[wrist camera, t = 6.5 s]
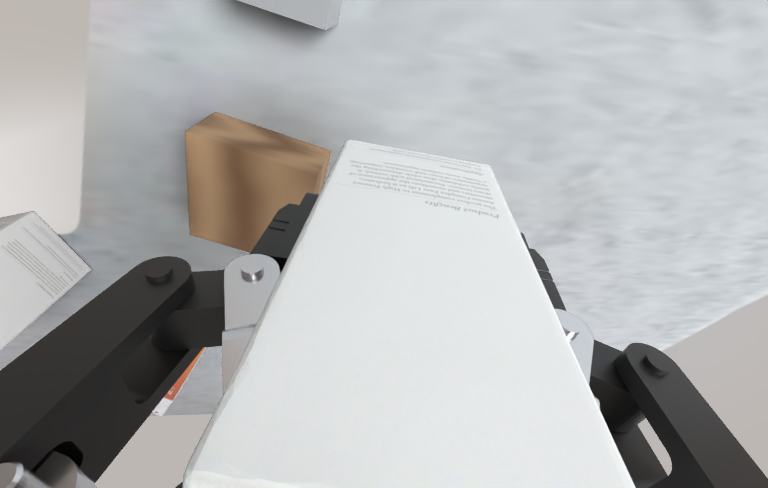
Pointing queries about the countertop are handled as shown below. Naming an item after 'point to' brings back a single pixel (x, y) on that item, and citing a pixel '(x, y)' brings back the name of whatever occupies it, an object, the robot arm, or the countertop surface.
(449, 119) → the countertop surface
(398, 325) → the skincare box
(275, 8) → the light gray block
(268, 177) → the tan block
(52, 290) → the supplement box
